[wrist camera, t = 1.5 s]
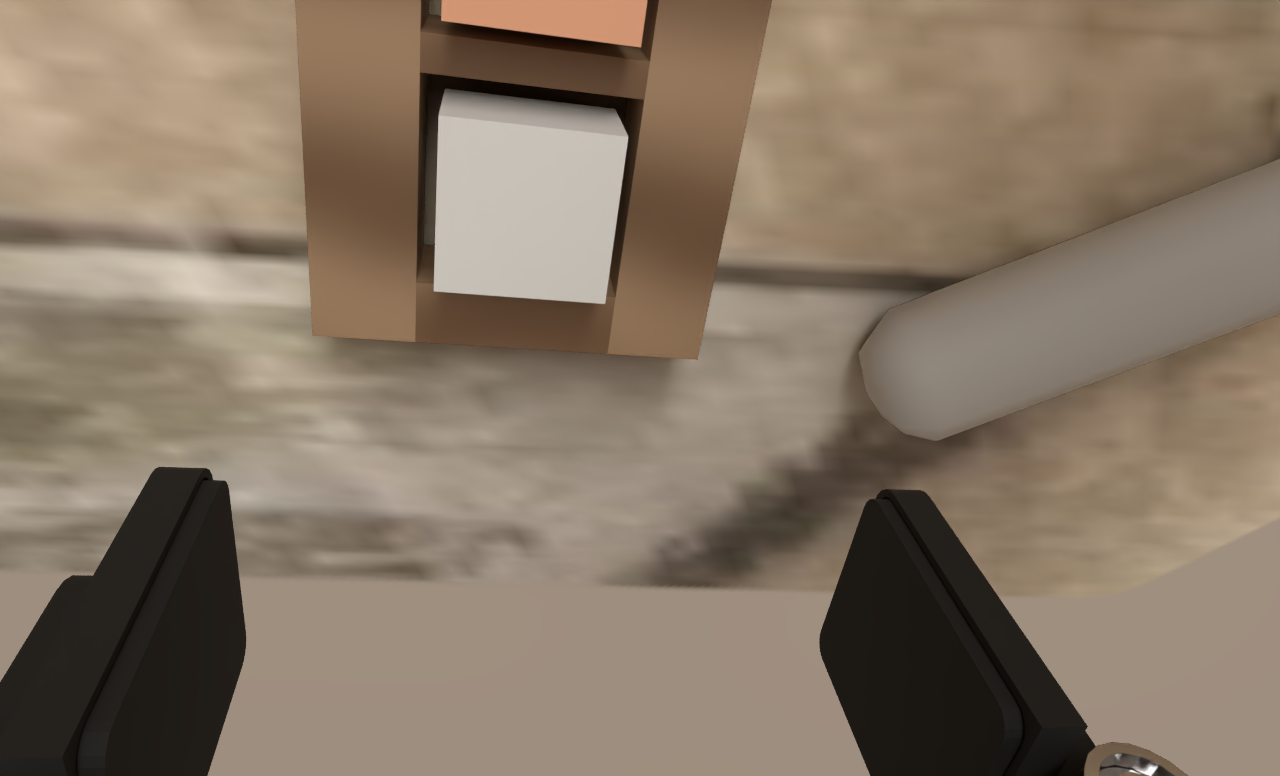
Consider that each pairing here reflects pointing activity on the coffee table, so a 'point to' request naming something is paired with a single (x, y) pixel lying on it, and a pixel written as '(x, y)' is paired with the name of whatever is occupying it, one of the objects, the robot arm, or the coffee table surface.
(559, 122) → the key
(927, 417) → the tube
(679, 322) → the wooden tray
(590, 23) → the key mid
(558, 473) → the coffee table surface
